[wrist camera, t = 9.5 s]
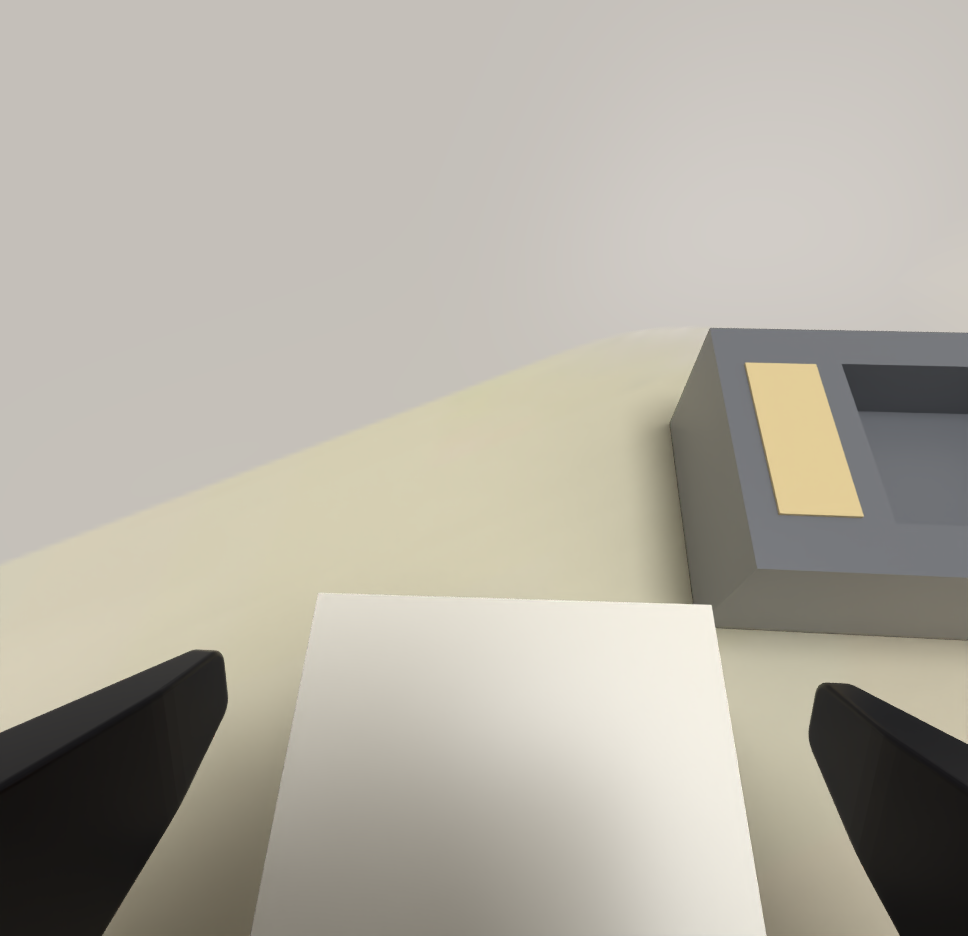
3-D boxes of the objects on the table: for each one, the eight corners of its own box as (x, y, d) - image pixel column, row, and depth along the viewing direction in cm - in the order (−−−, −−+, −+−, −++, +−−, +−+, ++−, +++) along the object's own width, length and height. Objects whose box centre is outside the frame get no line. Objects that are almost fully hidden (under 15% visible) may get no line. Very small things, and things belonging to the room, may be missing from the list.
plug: (604, 881, 12) (788, 1019, 4) (408, 870, 12) (234, 980, 4) (595, 720, 13) (715, 600, 6) (423, 712, 14) (314, 588, 6)
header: (1153, 649, 15) (1378, 594, 11) (696, 626, 16) (758, 567, 12) (1038, 433, 19) (1178, 334, 15) (669, 422, 20) (710, 325, 16)
